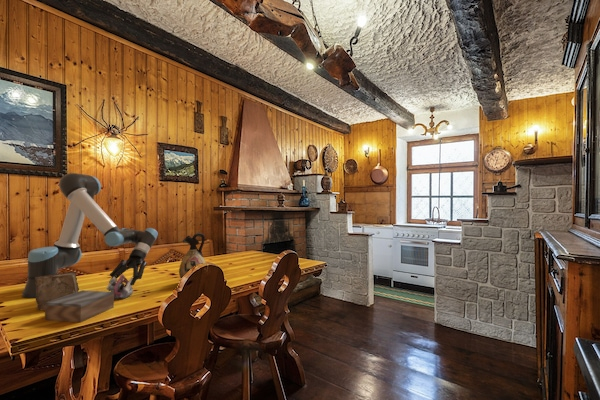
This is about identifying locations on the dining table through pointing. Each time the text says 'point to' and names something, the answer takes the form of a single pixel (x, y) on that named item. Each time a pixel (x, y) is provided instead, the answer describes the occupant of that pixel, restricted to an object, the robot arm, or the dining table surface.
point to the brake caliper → (120, 288)
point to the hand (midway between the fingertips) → (117, 290)
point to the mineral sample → (54, 287)
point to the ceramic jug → (192, 254)
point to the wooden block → (79, 306)
